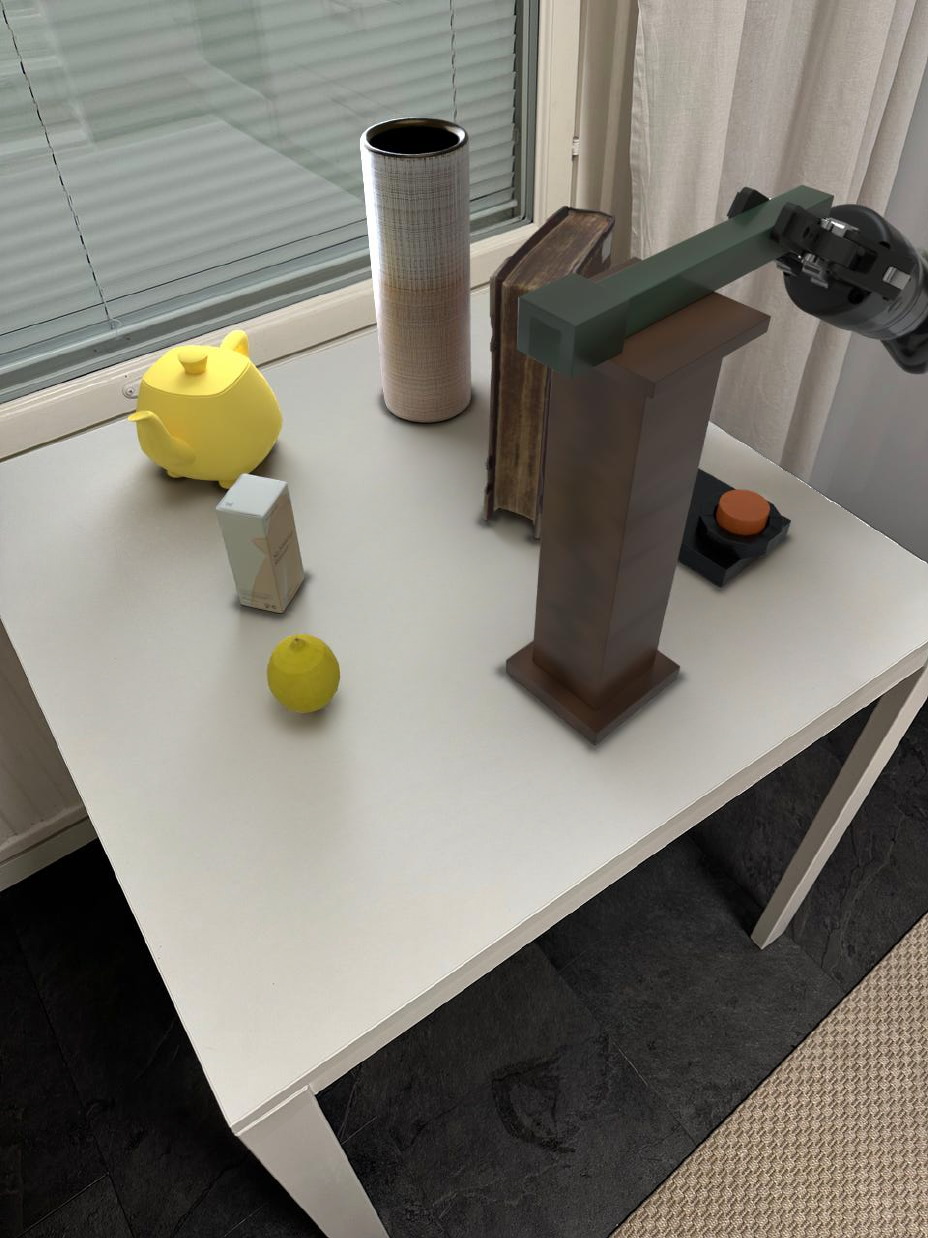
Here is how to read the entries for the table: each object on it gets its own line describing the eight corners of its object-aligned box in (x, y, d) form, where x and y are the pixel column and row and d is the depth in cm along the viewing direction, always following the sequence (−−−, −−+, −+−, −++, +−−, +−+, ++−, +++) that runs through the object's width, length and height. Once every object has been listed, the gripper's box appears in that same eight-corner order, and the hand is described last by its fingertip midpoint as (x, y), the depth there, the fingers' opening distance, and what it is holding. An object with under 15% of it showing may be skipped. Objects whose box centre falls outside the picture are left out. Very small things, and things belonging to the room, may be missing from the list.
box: (283, 615, 78) (260, 519, 70) (238, 605, 79) (211, 509, 71) (307, 575, 82) (288, 479, 74) (264, 566, 83) (241, 470, 75)
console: (796, 544, 84) (807, 511, 81) (731, 595, 80) (741, 562, 77) (685, 479, 91) (692, 447, 88) (620, 523, 86) (625, 490, 83)
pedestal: (677, 677, 73) (771, 315, 50) (594, 745, 69) (654, 382, 45) (588, 612, 78) (634, 256, 55) (505, 671, 74) (518, 311, 50)
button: (775, 520, 81) (779, 505, 80) (745, 542, 79) (750, 527, 78) (735, 497, 83) (739, 482, 82) (705, 518, 81) (709, 503, 80)
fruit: (261, 708, 72) (242, 642, 66) (312, 667, 74) (297, 600, 68) (309, 745, 69) (293, 680, 63) (359, 701, 72) (348, 635, 66)
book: (552, 431, 97) (570, 194, 78) (612, 451, 94) (645, 211, 76) (475, 520, 87) (475, 273, 68) (540, 544, 84) (557, 295, 66)
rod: (835, 238, 56) (849, 188, 54) (570, 379, 45) (575, 325, 43) (781, 218, 58) (793, 169, 56) (516, 349, 48) (518, 296, 45)
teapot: (106, 509, 89) (64, 402, 80) (207, 400, 101) (180, 297, 92) (226, 536, 86) (196, 428, 77) (314, 420, 98) (297, 316, 89)
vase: (489, 395, 101) (491, 132, 81) (429, 435, 96) (416, 164, 76) (425, 365, 106) (412, 108, 86) (366, 401, 101) (337, 137, 81)
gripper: (800, 192, 68) (696, 115, 54) (976, 253, 60) (905, 181, 47) (751, 290, 71) (641, 239, 58) (913, 359, 63) (829, 318, 50)
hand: (761, 213), depth 53 cm, fingers closed on rod, 2 cm apart
